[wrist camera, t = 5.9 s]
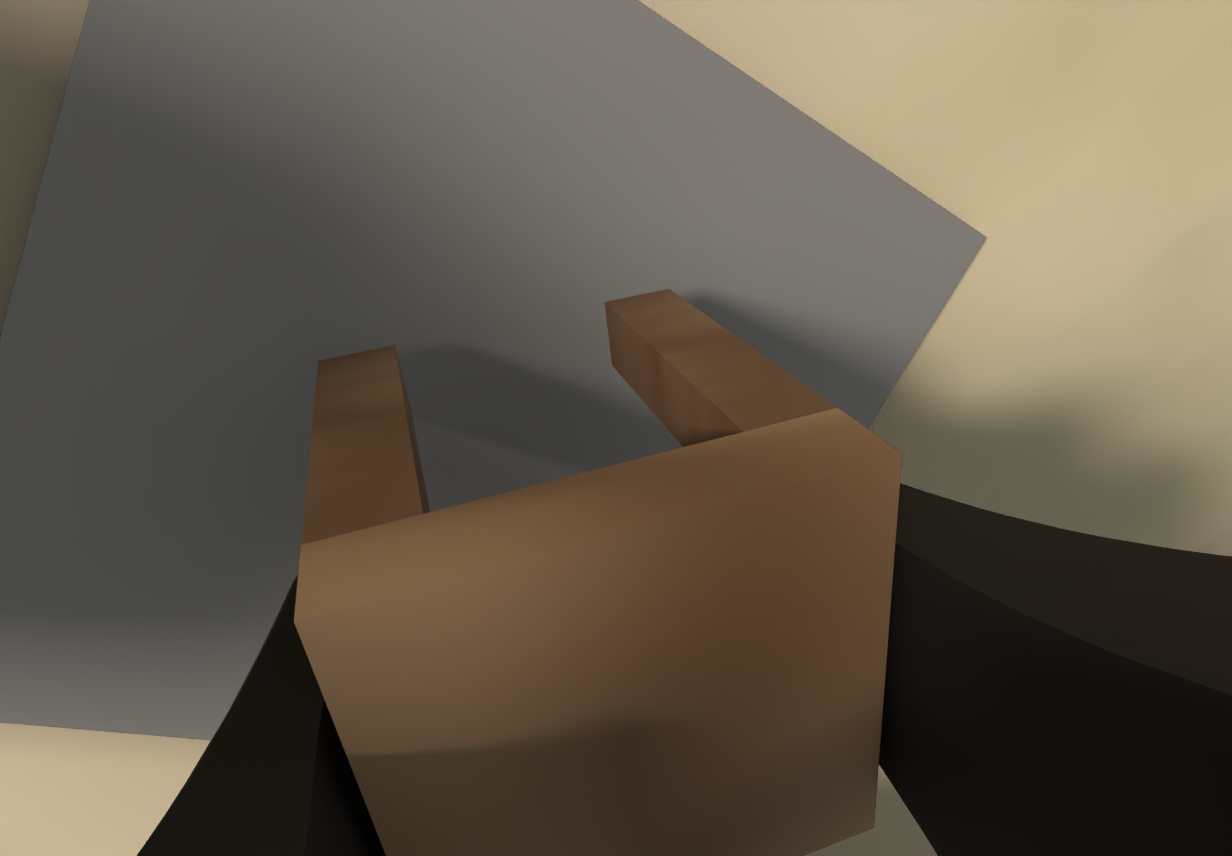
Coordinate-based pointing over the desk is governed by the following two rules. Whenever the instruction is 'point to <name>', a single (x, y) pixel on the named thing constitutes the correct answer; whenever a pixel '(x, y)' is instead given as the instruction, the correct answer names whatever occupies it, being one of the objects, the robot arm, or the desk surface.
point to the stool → (609, 616)
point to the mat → (384, 295)
